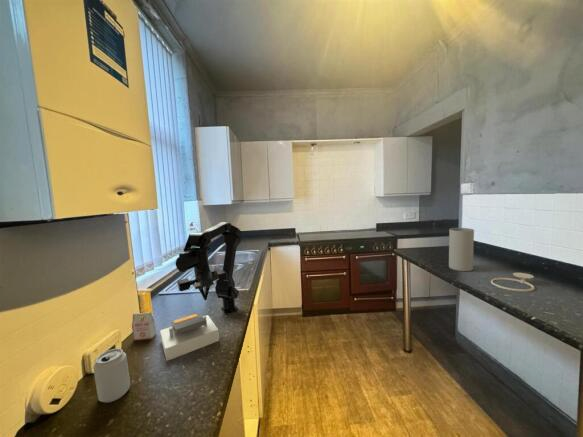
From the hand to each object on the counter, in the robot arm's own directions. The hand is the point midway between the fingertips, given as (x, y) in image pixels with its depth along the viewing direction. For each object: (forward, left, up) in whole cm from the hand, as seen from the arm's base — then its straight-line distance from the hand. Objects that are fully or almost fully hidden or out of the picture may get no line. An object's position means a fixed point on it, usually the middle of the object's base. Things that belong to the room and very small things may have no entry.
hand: (205, 299), depth 101 cm
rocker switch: (+5, -8, -5) cm, 11 cm away
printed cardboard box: (-10, -22, -12) cm, 27 cm away
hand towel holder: (+63, +139, -13) cm, 154 cm away
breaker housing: (+5, -8, -12) cm, 16 cm away
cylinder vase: (+35, +148, -12) cm, 152 cm away
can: (+18, -31, -12) cm, 38 cm away
